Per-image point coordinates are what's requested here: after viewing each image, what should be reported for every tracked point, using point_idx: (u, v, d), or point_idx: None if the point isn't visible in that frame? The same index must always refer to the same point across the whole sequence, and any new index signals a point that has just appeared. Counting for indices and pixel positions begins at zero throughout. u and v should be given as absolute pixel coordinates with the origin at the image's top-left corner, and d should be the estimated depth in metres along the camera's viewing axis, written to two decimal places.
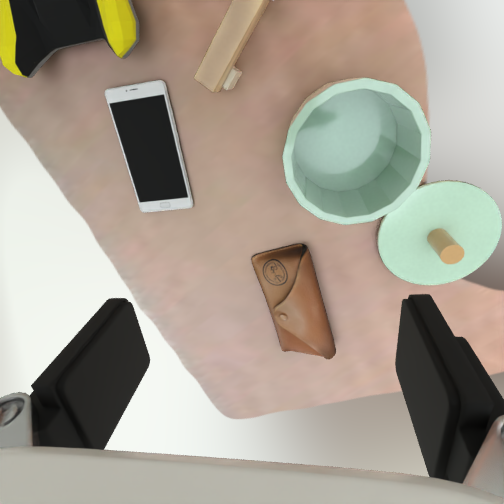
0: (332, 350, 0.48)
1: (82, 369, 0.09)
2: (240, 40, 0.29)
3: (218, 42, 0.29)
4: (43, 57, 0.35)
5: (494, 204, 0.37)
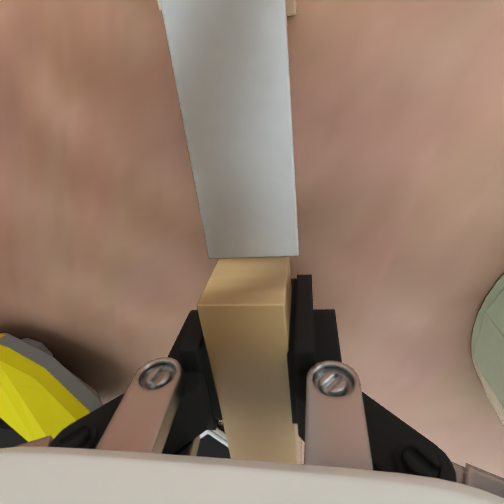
0: None
1: None
2: (291, 418, 0.10)
3: (243, 441, 0.10)
4: None
5: None
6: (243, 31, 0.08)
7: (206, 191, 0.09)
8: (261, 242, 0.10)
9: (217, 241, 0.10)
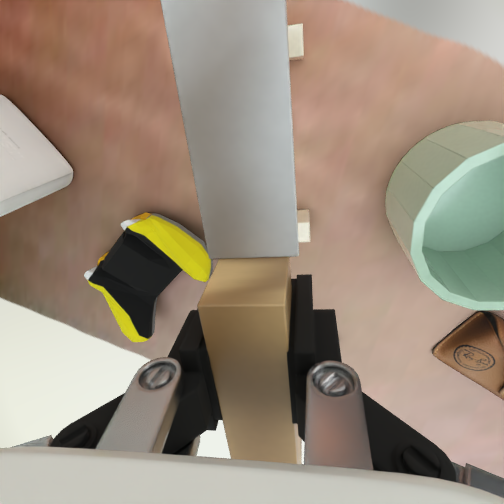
0: None
1: None
2: (291, 418, 0.10)
3: (243, 441, 0.11)
4: (152, 311, 0.38)
5: None
6: (244, 32, 0.08)
7: (206, 192, 0.09)
8: (261, 242, 0.10)
9: (218, 241, 0.10)
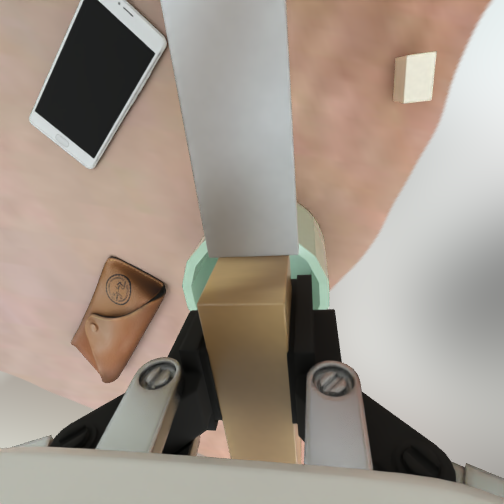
0: (115, 377, 0.46)
1: None
2: (290, 417, 0.10)
3: (242, 440, 0.10)
4: None
5: None
6: (243, 29, 0.08)
7: (206, 190, 0.09)
8: (261, 241, 0.10)
9: (217, 240, 0.10)
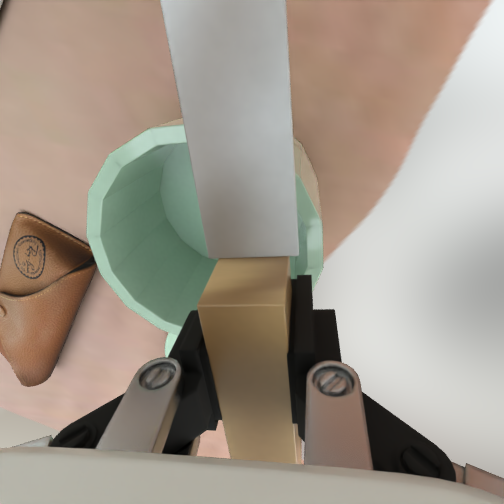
0: (40, 379, 0.35)
1: None
2: (291, 418, 0.10)
3: (243, 441, 0.10)
4: None
5: None
6: (243, 31, 0.07)
7: (206, 191, 0.09)
8: (261, 242, 0.10)
9: (217, 241, 0.10)
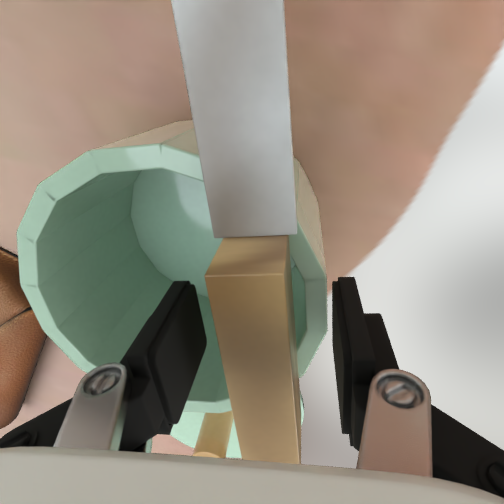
0: (3, 422, 0.31)
1: (165, 342, 0.10)
2: (290, 383, 0.11)
3: (246, 407, 0.11)
4: None
5: None
6: (246, 26, 0.08)
7: (212, 174, 0.10)
8: (262, 222, 0.11)
9: (222, 221, 0.11)
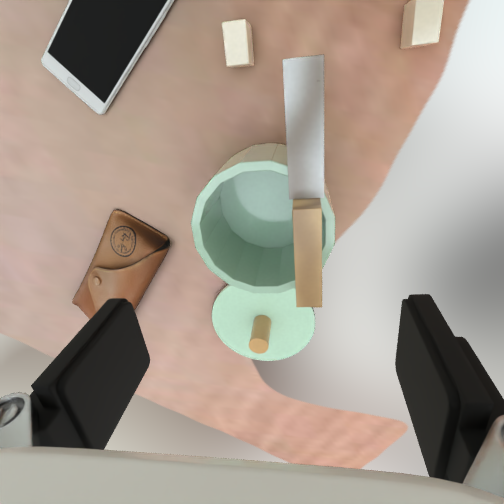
0: None
1: (82, 369, 0.09)
2: (320, 256, 0.26)
3: (301, 270, 0.27)
4: None
5: (312, 332, 0.43)
6: (310, 122, 0.24)
7: (291, 173, 0.26)
8: (310, 192, 0.27)
9: (293, 192, 0.27)
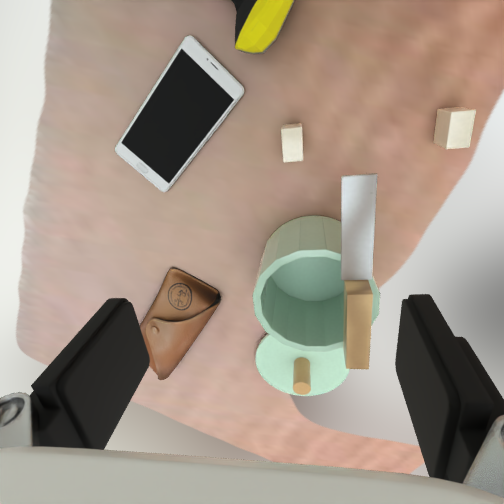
0: (168, 374, 0.51)
1: (82, 369, 0.09)
2: (370, 330, 0.31)
3: (352, 340, 0.32)
4: None
5: (347, 373, 0.48)
6: (363, 223, 0.29)
7: (344, 260, 0.31)
8: (360, 275, 0.31)
9: (345, 274, 0.31)
